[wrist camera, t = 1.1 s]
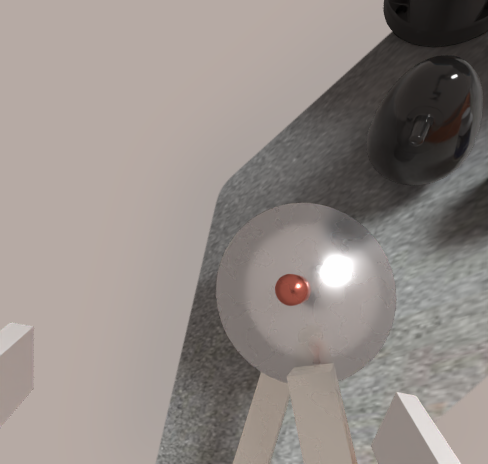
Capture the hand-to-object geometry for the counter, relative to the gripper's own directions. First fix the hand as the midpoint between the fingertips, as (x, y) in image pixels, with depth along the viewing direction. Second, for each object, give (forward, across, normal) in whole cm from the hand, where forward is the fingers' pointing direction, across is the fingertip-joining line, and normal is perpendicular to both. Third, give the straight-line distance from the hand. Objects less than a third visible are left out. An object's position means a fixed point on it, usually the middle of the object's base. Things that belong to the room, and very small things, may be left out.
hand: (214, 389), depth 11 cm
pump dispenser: (+29, +20, +11) cm, 37 cm away
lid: (+12, +9, -8) cm, 16 cm away
